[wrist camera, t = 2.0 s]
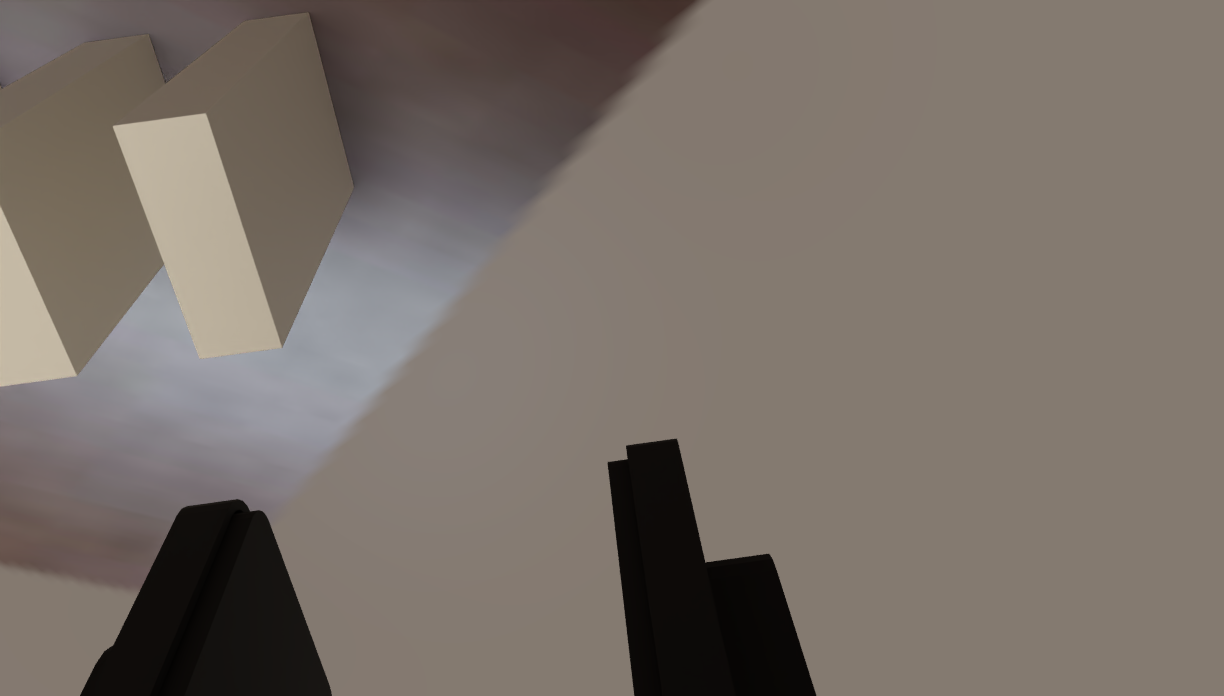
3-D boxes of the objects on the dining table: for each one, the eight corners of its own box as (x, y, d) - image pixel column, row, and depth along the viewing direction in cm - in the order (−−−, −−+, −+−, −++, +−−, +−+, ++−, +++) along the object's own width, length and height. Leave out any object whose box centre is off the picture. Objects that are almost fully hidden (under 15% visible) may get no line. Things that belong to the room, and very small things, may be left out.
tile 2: (148, 34, 28) (-27, 145, 19) (207, 207, 30) (76, 376, 22) (84, 42, 28) (-121, 157, 19) (149, 215, 30) (-6, 387, 22)
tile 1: (308, 12, 28) (205, 113, 19) (354, 187, 30) (282, 347, 22) (244, 20, 28) (112, 126, 19) (295, 195, 30) (200, 359, 22)
